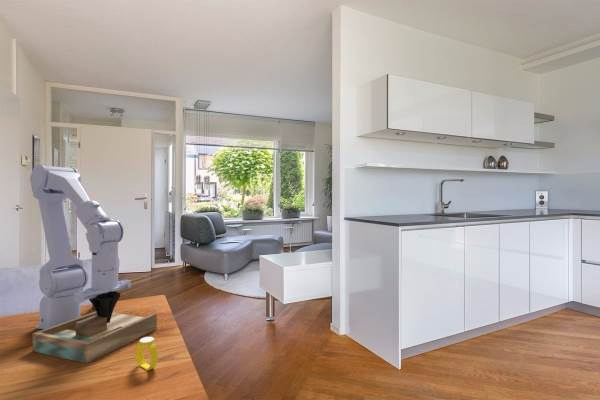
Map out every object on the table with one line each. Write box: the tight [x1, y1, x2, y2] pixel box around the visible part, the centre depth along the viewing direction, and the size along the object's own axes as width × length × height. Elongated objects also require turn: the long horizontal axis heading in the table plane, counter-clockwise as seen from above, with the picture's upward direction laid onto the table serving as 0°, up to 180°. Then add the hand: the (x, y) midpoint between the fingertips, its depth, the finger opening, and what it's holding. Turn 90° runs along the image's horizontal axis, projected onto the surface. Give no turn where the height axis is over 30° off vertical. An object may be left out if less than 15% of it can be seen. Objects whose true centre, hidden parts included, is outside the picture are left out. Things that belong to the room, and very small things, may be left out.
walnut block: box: [76, 316, 107, 337], centre depth 80 cm, size 4×5×3 cm
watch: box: [135, 336, 159, 372], centre depth 68 cm, size 6×3×6 cm, turn 55°
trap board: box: [31, 310, 158, 364], centre depth 82 cm, size 17×20×4 cm
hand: (104, 322), depth 83 cm, fingers closed
